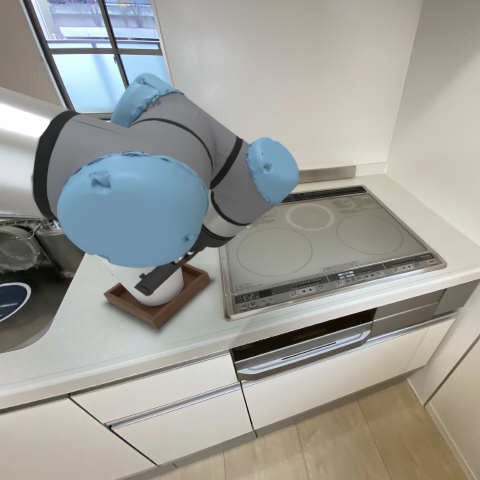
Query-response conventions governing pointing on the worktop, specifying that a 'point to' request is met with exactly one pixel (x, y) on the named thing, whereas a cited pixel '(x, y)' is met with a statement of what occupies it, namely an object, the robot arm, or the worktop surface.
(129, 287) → the cup
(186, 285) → the tray
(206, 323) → the worktop surface
